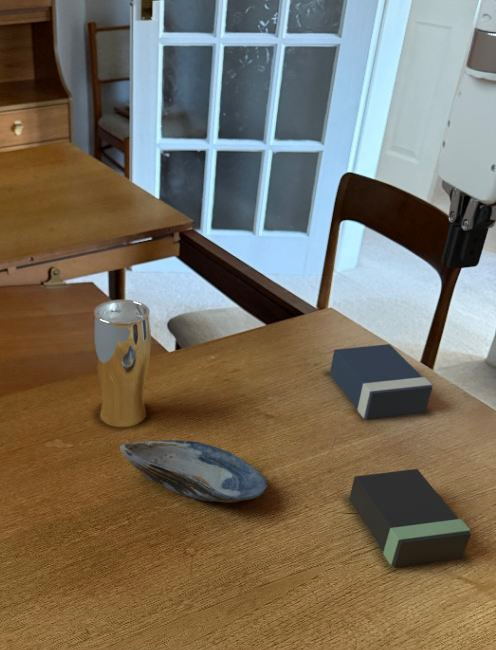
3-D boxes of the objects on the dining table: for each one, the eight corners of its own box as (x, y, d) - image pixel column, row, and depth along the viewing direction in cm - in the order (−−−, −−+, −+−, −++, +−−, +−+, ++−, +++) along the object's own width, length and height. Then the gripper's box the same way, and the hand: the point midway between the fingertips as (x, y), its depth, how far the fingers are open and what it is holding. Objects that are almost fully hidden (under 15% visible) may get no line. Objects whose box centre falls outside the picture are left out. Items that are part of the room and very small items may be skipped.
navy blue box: (390, 343, 101) (434, 386, 92) (383, 373, 104) (424, 418, 95) (333, 348, 101) (371, 392, 91) (327, 379, 104) (363, 425, 94)
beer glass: (156, 409, 98) (158, 302, 89) (140, 438, 93) (141, 327, 84) (106, 401, 100) (103, 295, 90) (88, 429, 95) (83, 319, 85)
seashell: (135, 538, 79) (135, 502, 75) (117, 469, 88) (116, 434, 85) (274, 522, 80) (280, 485, 77) (242, 456, 90) (246, 421, 87)
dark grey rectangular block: (418, 467, 80) (473, 532, 72) (409, 498, 83) (461, 564, 75) (353, 475, 80) (400, 542, 71) (346, 506, 82) (390, 573, 74)
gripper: (617, 66, 58) (538, 290, 70) (505, 38, 69) (453, 235, 81) (529, 73, 57) (464, 299, 69) (430, 44, 68) (389, 242, 80)
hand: (459, 264), depth 75 cm, fingers closed
